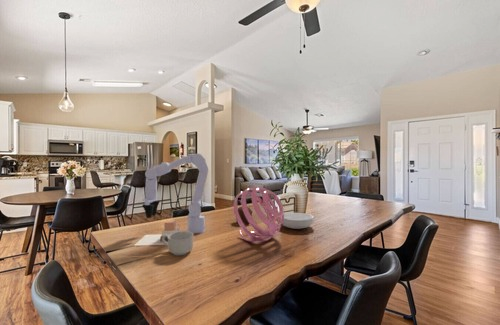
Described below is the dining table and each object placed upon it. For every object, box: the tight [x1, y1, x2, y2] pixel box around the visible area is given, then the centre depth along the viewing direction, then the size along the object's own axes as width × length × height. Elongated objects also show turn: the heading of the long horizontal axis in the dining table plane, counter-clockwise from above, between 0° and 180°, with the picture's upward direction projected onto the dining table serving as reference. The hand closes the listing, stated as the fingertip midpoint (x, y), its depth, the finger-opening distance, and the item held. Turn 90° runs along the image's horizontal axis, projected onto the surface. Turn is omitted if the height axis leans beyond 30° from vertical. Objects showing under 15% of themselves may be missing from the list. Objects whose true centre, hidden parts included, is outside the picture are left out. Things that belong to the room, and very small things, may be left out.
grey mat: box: [133, 233, 168, 247], centre depth 121 cm, size 20×16×1 cm
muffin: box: [235, 206, 253, 225], centre depth 155 cm, size 12×11×10 cm
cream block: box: [161, 226, 180, 236], centre depth 121 cm, size 7×7×2 cm
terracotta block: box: [163, 219, 177, 231], centre depth 121 cm, size 4×4×4 cm
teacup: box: [162, 230, 194, 257], centre depth 105 cm, size 14×11×8 cm
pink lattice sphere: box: [233, 186, 285, 243], centre depth 123 cm, size 28×28×27 cm
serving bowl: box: [280, 212, 314, 230], centre depth 145 cm, size 21×21×7 cm
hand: (151, 216), depth 128 cm, fingers open, 7 cm apart
